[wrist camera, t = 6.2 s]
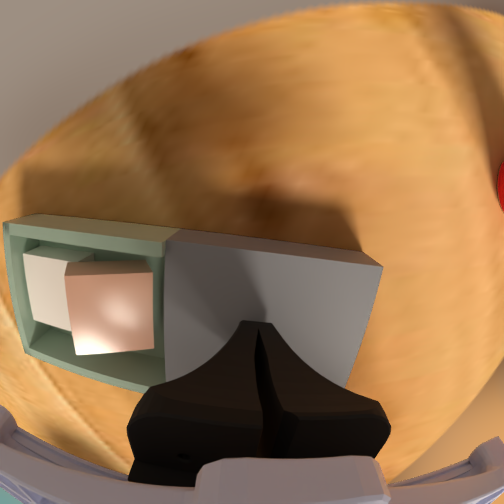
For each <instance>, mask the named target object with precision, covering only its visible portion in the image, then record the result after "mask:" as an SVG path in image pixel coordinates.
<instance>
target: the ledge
mask: <svg viewBox="0 0 504 504" xmlns="http://www.w3.org/2000/svg"><path fill="white" fill-rule="evenodd" d="M382 270H383V266H381V265H380V264H379V263H377V262H376V261H375V260H373V259H372V258H371V257H369V256H368V255H367V254H365V253H364V252H360V251H353V250H346V249H338V248H331V247H324V246H316V245H309V244H301V243H294V242H286V241H278V240H271V239H263V238H255V237H247V236H239V235H231V234H223V233H214V232H206V231H198V230H189V229H180V230H179V231H177V232H176V233H174V234H173V235H172V236H170V237H169V238H168V239H166V248H165V273H164V349H165V374H166V382H168V381H171V380H174V379H177V378H179V377H181V376H184V375H186V374H188V373H190V372H192V371H193V370H195V369H197V368H198V367H200V366H201V365H203V364H204V363H205V362H207V361H208V360H209V359H210V358H212V357H213V356H214V355H215V354H216V353H217V352H218V351H219V350H220V349H221V348H222V347H223V346H224V345H225V344H226V343H227V342H228V340H229V339H230V338H231V336H232V335H233V334H234V332H235V331H236V329H237V327H238V325H239V322H240V321H242V320H247V321H257V322H267V323H272V324H273V325H274V326H275V328H276V329H277V331H278V332H279V333H280V335H281V336H282V338H283V339H284V340H285V341H286V343H287V344H288V345H289V346H290V348H291V349H292V350H293V351H294V352H295V353H296V354H297V355H298V356H299V357H300V358H301V359H302V360H303V361H304V362H305V363H306V364H308V365H309V366H310V367H311V368H313V369H314V370H315V371H316V372H318V373H319V374H321V375H322V376H324V377H325V378H327V379H328V380H330V381H332V382H333V383H335V384H337V385H339V386H341V387H342V388H345V386H346V383H347V380H348V378H349V375H350V373H351V370H352V368H353V365H354V362H355V359H356V357H357V354H358V351H359V348H360V345H361V342H362V339H363V336H364V333H365V330H366V327H367V324H368V321H369V318H370V314H371V311H372V308H373V304H374V301H375V297H376V293H377V290H378V286H379V282H380V278H381V275H382Z"/></svg>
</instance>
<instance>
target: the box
mask: <svg viewBox="0 0 504 504" xmlns="http://www.w3.org/2000/svg"><path fill="white" fill-rule="evenodd" d="M180 229H181V228H172V227H163V226H154V225H145V224H136V223H127V222H118V221H108V220H98V219H89V218H79V217H69V216H58V215H48V214H37V213H36V214H32V215H28V216H24V217H20V218H16V219H13V220H9V221H5V222H3V237H4V250H5V259H6V268H7V275H8V282H9V288H10V293H11V299H12V304H13V309H14V313H15V318H16V322H17V326H18V330H19V334H20V337H21V341H22V345H23V348H24V351H25V353H26V354H28V355H31V356H33V357H35V358H37V359H40V360H42V361H45V362H47V363H49V364H52V365H54V366H57V367H60V368H62V369H65V370H68V371H70V372H73V373H76V374H79V375H82V376H85V377H87V378H91V379H94V380H97V381H100V382H103V383H106V384H110V385H113V386H117V387H120V388H124V389H128V390H132V391H136V392H140V393H144V394H145V392H146V391H147V390H148V388H149V387H151V386H155V385H158V384H162V383H165V382H166V374H165V349H164V273H165V248H166V239H168V238H169V237H170V236H172V235H173V234H174V233H176V232H177V231H179V230H180ZM39 246H49V247H56V248H63V249H70V250H77V251H85V252H92V253H94V260H95V261H123V260H146V261H147V263H148V265H149V266H150V268H151V270H152V272H153V332H154V348H153V349H144V350H135V351H125V352H114V353H102V354H88V355H76V351H75V346H74V341H73V336H72V332H71V331H68V330H65V329H61V328H58V327H55V326H51V325H48V324H45V323H42V322H39V321H36V320H34V319H33V315H32V310H31V305H30V300H29V294H28V288H27V282H26V275H25V268H24V260H23V253H25V252H27V251H30V250H32V249H34V248H37V247H39Z"/></svg>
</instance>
